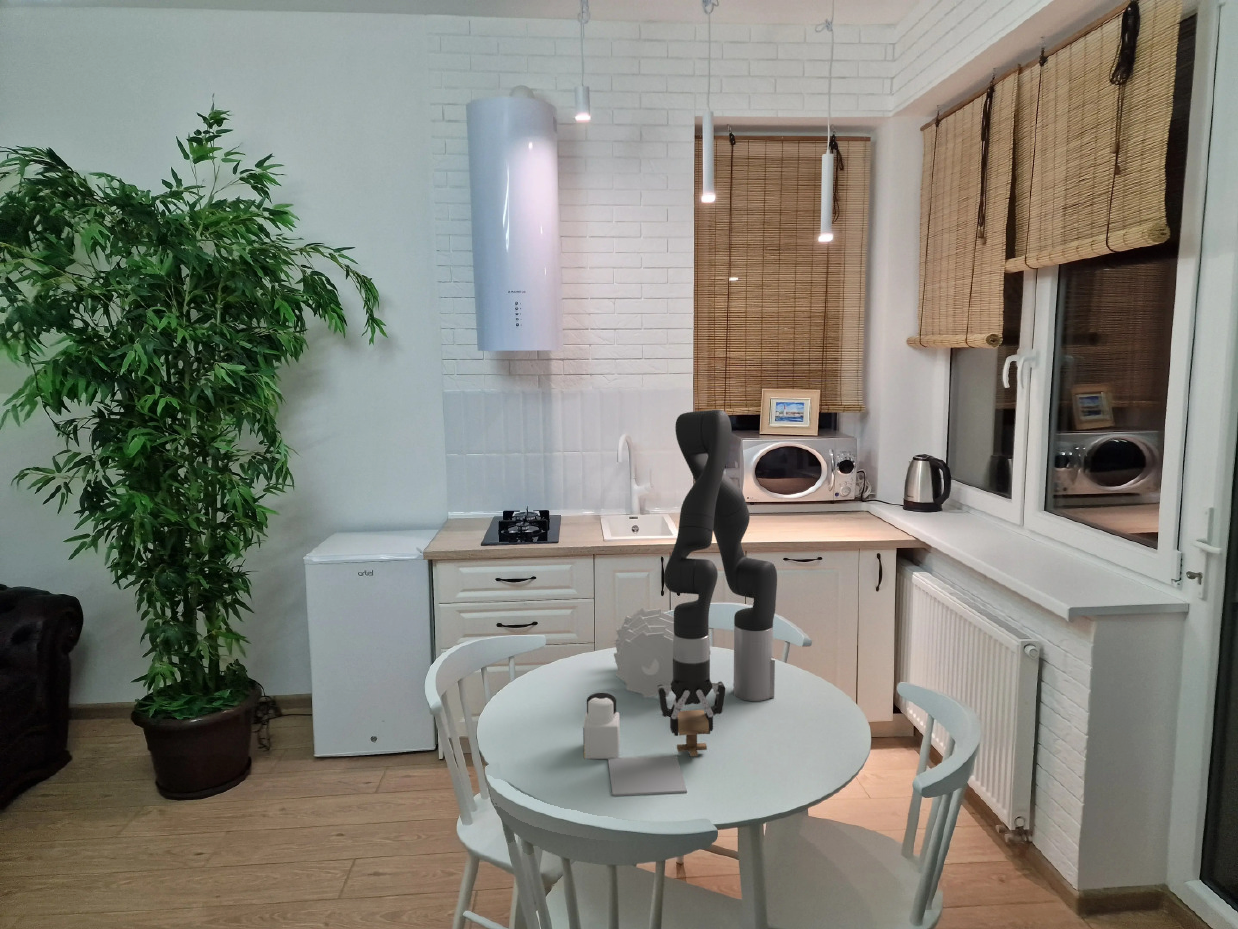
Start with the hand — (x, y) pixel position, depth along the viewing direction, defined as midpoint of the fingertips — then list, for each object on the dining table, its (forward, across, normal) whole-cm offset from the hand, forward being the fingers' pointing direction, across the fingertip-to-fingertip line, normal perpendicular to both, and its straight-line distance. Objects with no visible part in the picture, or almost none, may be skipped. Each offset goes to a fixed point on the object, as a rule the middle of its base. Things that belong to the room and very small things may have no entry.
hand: (691, 733), depth 172 cm
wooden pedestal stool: (+3, 0, 0) cm, 3 cm away
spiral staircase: (+5, +4, -38) cm, 38 cm away
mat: (+4, +10, +8) cm, 14 cm away
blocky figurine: (+5, +18, -3) cm, 19 cm away
